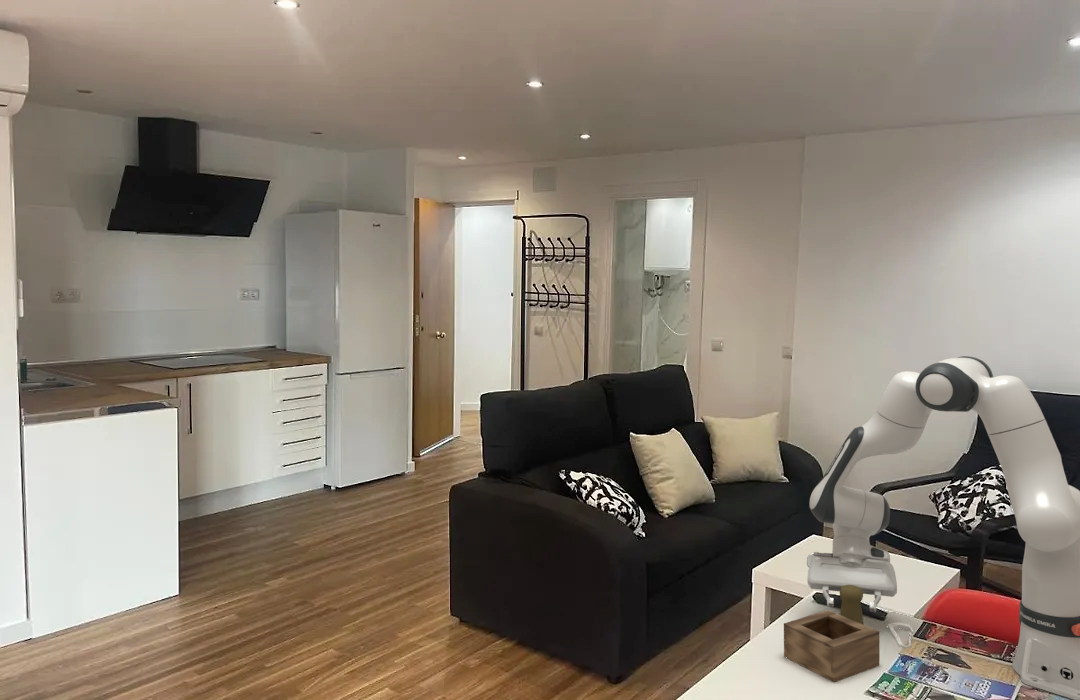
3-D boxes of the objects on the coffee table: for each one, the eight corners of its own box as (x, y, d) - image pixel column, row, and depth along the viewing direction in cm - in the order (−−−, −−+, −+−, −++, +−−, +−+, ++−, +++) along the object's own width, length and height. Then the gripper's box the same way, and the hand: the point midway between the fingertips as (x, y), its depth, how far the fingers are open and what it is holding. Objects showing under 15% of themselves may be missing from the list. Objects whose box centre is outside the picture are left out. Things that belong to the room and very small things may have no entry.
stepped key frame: (923, 653, 180) (923, 646, 179) (899, 652, 181) (899, 645, 180) (907, 626, 192) (907, 620, 192) (885, 626, 193) (885, 619, 193)
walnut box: (879, 665, 172) (879, 631, 172) (834, 682, 166) (833, 646, 165) (828, 641, 185) (828, 610, 184) (784, 656, 178) (783, 623, 177)
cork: (869, 636, 187) (869, 591, 186) (843, 637, 187) (843, 591, 186) (859, 626, 193) (859, 581, 192) (834, 626, 193) (834, 582, 192)
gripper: (806, 545, 199) (804, 597, 190) (896, 552, 191) (898, 607, 183) (807, 557, 203) (805, 609, 195) (895, 565, 196) (897, 619, 187)
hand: (851, 608), depth 189 cm, fingers open, 8 cm apart
